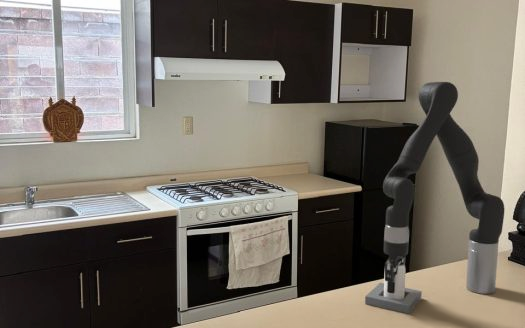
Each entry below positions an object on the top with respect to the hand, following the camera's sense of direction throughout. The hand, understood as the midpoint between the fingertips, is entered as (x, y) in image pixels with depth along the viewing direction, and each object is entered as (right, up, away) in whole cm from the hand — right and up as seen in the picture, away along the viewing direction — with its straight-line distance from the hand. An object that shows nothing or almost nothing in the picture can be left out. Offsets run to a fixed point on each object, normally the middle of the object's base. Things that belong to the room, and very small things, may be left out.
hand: (394, 289), depth 171 cm
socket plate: (0, -4, +1) cm, 4 cm away
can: (0, -3, 0) cm, 3 cm away
